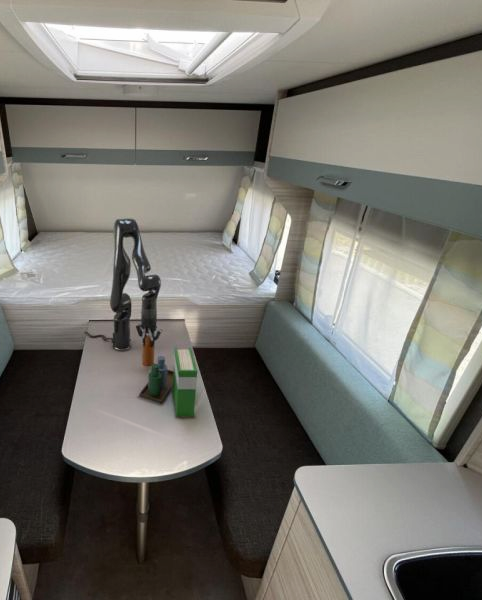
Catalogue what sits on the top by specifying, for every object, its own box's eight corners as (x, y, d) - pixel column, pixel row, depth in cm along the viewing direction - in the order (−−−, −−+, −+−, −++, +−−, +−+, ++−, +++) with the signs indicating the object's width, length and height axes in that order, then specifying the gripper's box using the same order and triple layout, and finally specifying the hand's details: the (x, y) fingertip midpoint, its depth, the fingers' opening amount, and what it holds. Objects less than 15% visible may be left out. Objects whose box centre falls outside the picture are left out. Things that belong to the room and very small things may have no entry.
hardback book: (172, 390, 156) (174, 347, 146) (188, 390, 156) (191, 347, 147) (176, 417, 140) (178, 371, 130) (193, 417, 140) (197, 371, 130)
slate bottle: (152, 387, 157) (152, 359, 151) (157, 380, 162) (158, 353, 156) (163, 391, 155) (164, 362, 148) (168, 383, 160) (169, 356, 153)
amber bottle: (140, 364, 168) (140, 337, 161) (145, 358, 173) (145, 332, 166) (150, 368, 165) (151, 340, 159) (155, 362, 170) (156, 335, 164)
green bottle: (145, 395, 152) (146, 367, 145) (151, 388, 156) (151, 360, 150) (157, 399, 149) (158, 371, 143) (162, 392, 154) (163, 364, 148)
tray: (139, 397, 152) (139, 393, 151) (159, 370, 171) (160, 367, 170) (161, 404, 147) (161, 401, 146) (179, 376, 166) (180, 373, 165)
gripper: (165, 314, 158) (164, 345, 165) (139, 308, 163) (139, 338, 170) (159, 321, 151) (157, 352, 159) (132, 314, 157) (132, 345, 164)
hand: (148, 344), depth 164 cm, fingers closed on amber bottle, 3 cm apart
